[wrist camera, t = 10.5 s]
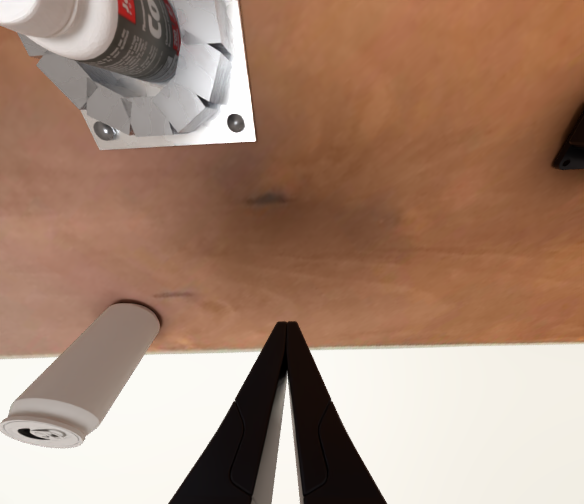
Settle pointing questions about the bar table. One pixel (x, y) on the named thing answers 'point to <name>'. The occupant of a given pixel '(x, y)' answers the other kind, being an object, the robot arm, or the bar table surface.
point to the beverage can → (83, 380)
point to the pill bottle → (102, 33)
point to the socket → (167, 86)
